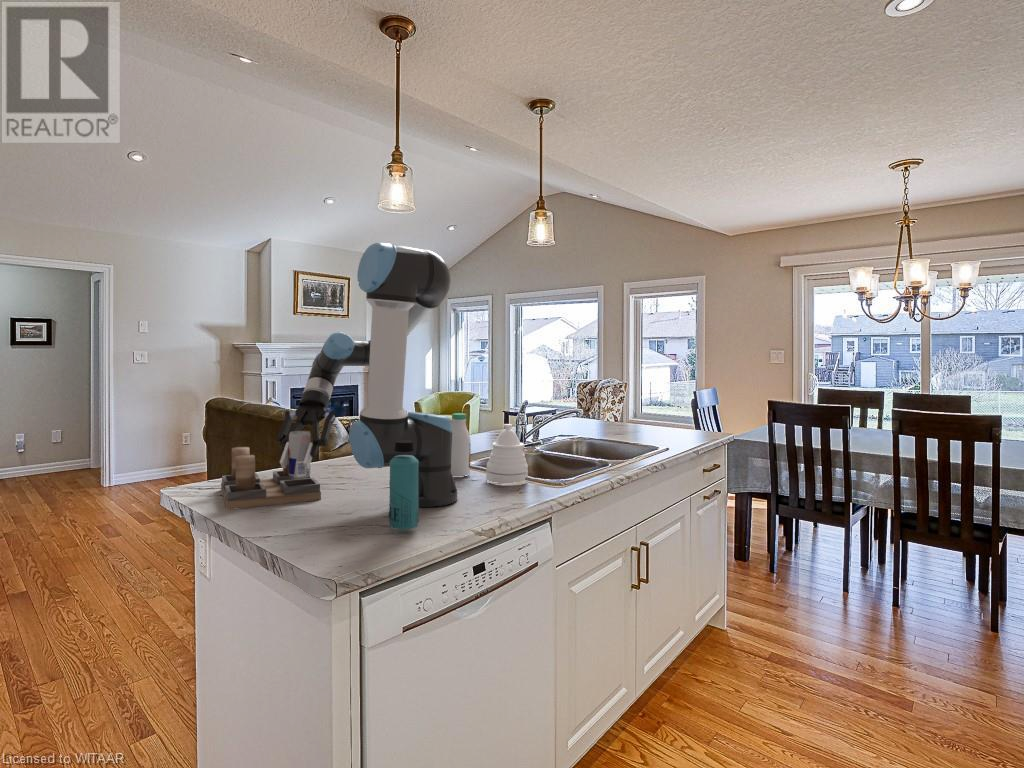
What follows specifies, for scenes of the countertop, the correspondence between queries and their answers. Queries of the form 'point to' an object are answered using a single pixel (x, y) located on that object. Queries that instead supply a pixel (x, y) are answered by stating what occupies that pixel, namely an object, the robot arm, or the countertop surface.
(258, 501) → the pillar candle tray
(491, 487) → the countertop surface
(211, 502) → the countertop surface
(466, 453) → the milk bottle
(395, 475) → the beverage bottle
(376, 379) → the robot arm
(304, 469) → the energy drink
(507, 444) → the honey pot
